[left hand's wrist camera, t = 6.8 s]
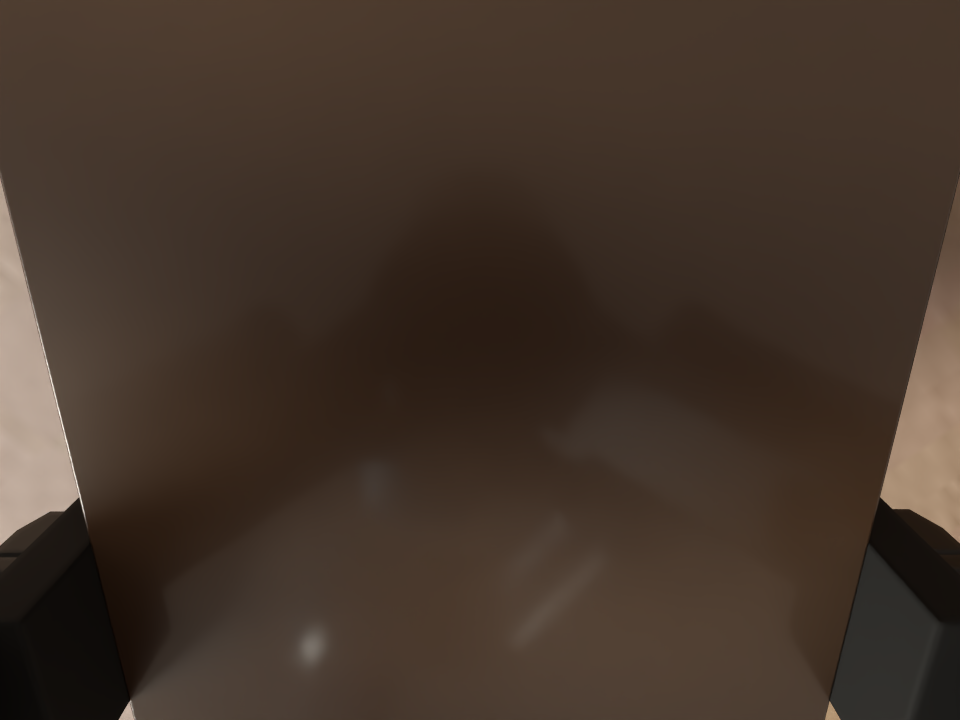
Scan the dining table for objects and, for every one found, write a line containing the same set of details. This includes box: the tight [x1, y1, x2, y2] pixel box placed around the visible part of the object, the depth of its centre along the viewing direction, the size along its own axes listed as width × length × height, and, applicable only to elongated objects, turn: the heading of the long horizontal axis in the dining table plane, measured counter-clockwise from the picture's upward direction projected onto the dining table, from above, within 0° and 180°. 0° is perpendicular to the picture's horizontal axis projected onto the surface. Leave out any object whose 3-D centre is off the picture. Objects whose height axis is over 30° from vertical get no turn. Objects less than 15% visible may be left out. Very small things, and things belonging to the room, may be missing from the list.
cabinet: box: [0, 0, 960, 720], centre depth 12 cm, size 17×10×10 cm, turn 0°
